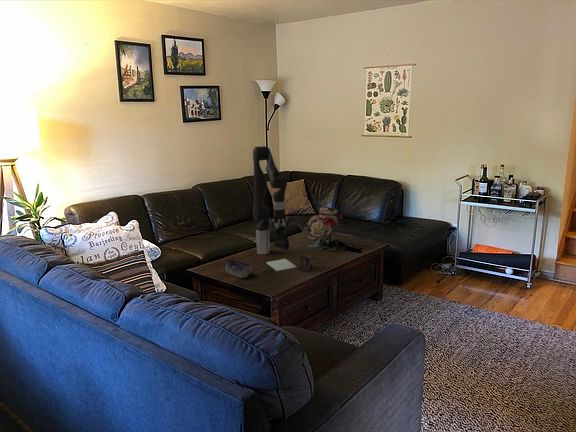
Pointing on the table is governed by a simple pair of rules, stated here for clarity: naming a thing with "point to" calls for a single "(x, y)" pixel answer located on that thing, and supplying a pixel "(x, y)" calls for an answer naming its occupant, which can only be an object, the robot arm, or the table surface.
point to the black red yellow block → (281, 238)
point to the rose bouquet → (323, 229)
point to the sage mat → (281, 265)
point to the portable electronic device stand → (308, 262)
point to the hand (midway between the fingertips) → (280, 233)
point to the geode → (238, 268)
